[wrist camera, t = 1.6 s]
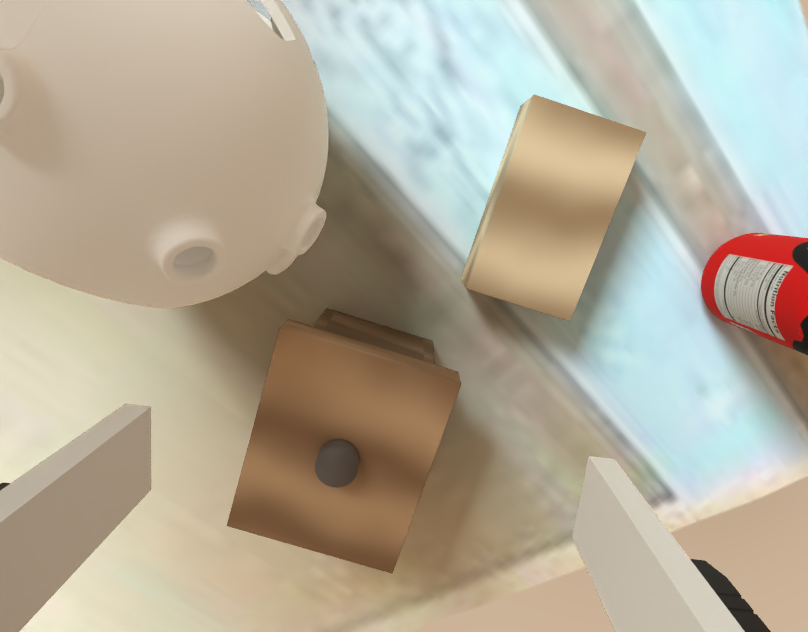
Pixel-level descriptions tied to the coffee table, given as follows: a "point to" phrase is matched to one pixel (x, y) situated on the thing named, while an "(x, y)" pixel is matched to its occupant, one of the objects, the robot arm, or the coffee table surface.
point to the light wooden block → (550, 206)
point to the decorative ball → (157, 145)
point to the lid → (341, 446)
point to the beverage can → (761, 286)
